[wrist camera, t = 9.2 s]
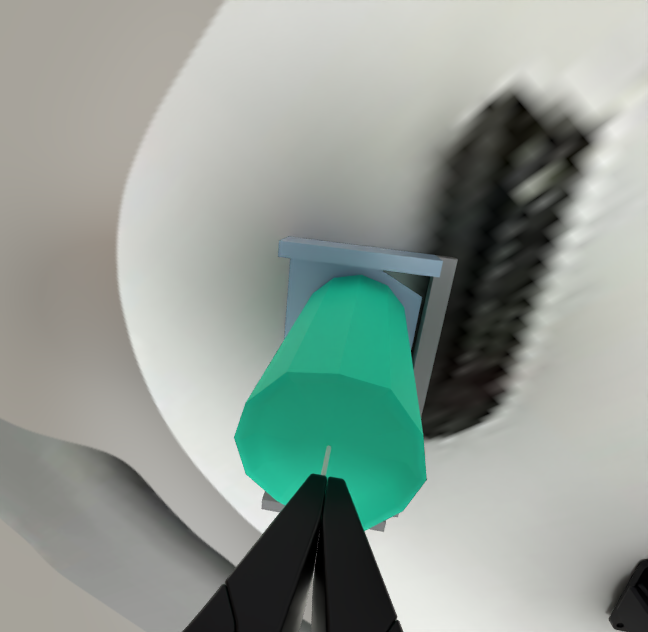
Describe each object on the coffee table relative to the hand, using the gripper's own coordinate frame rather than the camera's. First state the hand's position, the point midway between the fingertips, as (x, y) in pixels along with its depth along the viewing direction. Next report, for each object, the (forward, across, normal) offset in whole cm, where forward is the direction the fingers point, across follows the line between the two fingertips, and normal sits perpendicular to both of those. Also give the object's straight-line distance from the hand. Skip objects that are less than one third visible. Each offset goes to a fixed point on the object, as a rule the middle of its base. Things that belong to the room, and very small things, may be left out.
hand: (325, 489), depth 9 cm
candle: (+12, 0, 0) cm, 13 cm away
